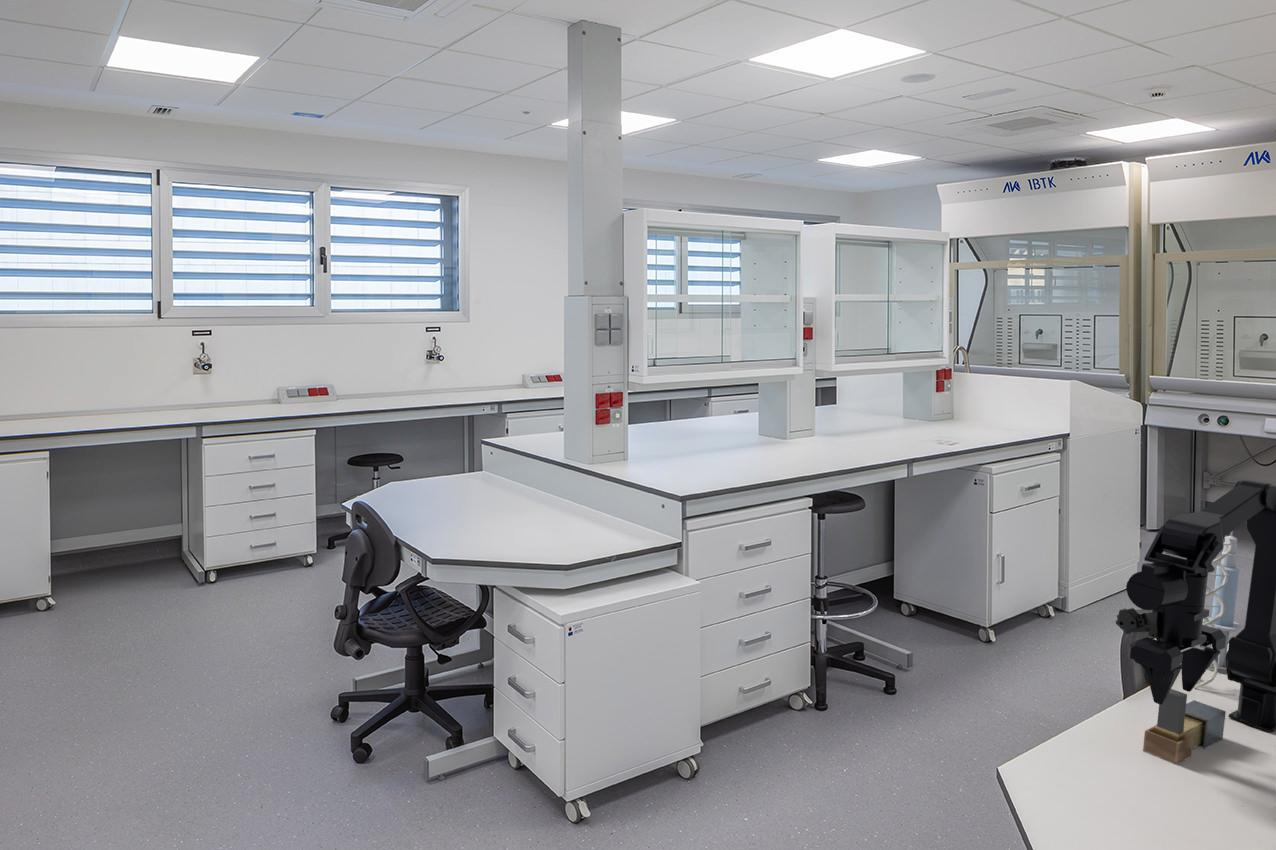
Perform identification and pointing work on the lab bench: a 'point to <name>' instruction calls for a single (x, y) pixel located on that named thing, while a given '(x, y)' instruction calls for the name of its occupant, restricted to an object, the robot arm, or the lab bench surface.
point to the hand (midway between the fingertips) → (1172, 696)
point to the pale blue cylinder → (1226, 601)
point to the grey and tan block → (1178, 720)
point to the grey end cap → (1208, 721)
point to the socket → (1167, 747)
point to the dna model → (1211, 591)
